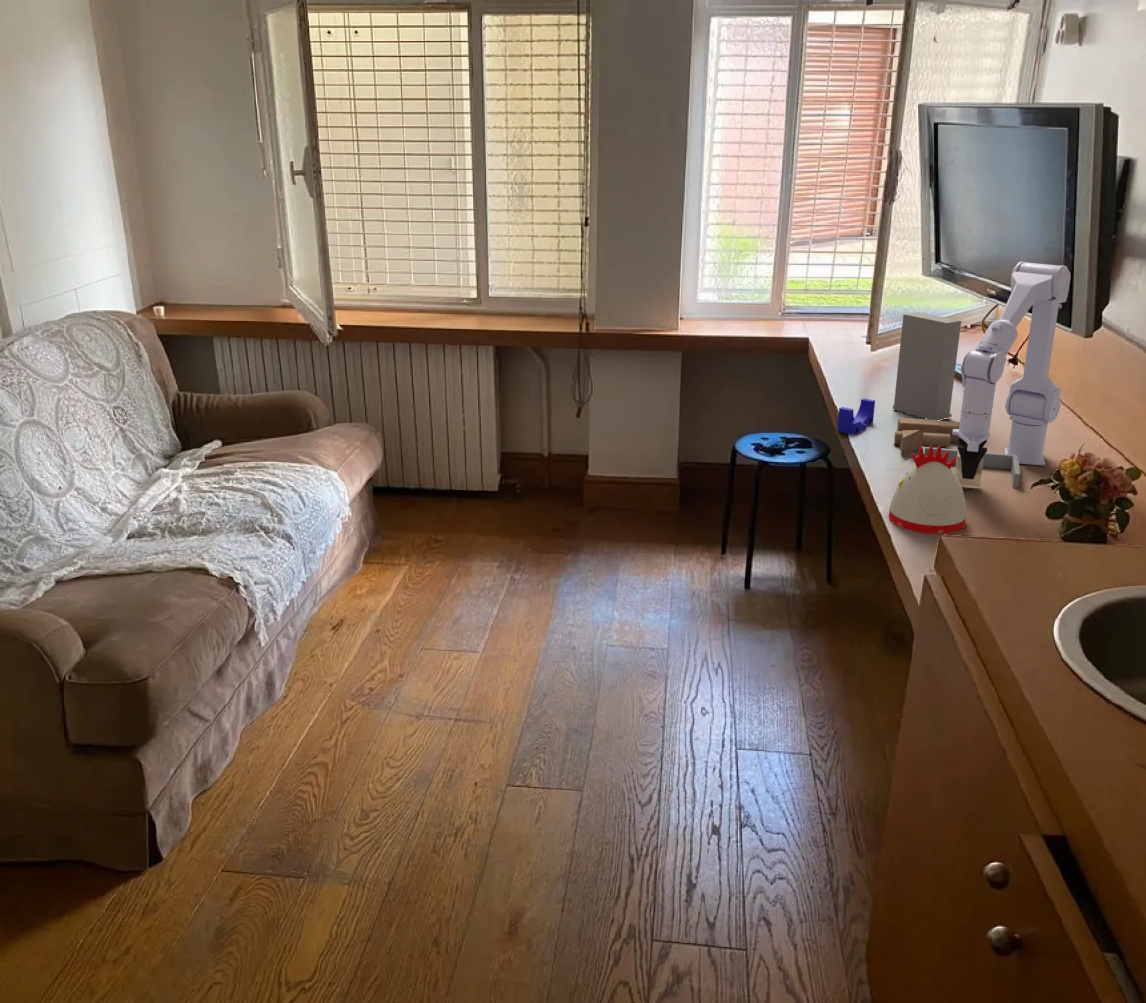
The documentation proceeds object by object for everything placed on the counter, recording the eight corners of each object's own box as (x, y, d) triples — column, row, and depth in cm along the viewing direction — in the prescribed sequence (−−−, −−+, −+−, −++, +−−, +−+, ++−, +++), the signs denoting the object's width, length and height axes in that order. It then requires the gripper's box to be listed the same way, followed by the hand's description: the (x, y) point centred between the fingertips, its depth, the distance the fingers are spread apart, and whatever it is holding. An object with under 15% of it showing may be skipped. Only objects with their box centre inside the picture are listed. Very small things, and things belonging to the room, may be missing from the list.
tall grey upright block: (951, 419, 257) (964, 320, 248) (934, 423, 254) (946, 323, 245) (909, 406, 268) (919, 311, 259) (892, 410, 265) (902, 314, 256)
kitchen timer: (882, 505, 202) (890, 433, 197) (954, 507, 201) (963, 434, 196) (897, 533, 189) (905, 456, 184) (973, 535, 188) (984, 457, 183)
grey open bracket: (919, 459, 228) (920, 446, 227) (1015, 468, 222) (1017, 455, 221) (916, 477, 217) (917, 464, 216) (1017, 487, 210) (1020, 474, 209)
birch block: (954, 477, 213) (957, 450, 211) (979, 480, 211) (983, 452, 209) (953, 484, 209) (957, 456, 207) (979, 486, 208) (983, 458, 205)
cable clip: (853, 435, 246) (855, 411, 244) (837, 431, 249) (839, 408, 247) (878, 424, 254) (880, 401, 252) (862, 421, 257) (864, 398, 255)
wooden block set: (894, 413, 244) (974, 417, 240) (892, 435, 246) (971, 440, 242) (898, 433, 229) (983, 438, 225) (896, 457, 231) (980, 462, 227)
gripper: (956, 400, 212) (948, 462, 217) (954, 418, 200) (946, 484, 205) (992, 402, 210) (983, 465, 215) (993, 422, 197) (984, 488, 202)
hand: (967, 474), depth 210 cm, fingers closed on birch block, 4 cm apart
